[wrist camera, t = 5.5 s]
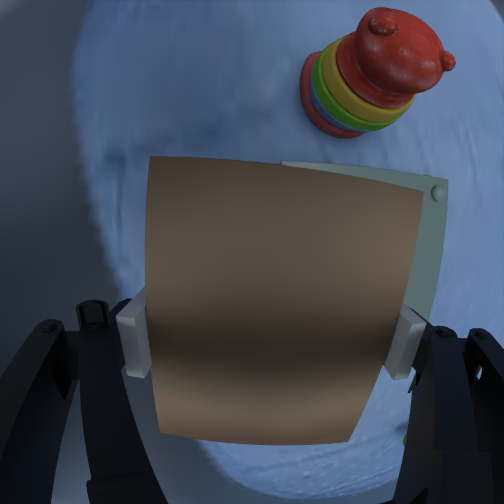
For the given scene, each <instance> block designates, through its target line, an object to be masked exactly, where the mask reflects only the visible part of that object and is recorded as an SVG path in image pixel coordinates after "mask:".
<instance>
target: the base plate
mask: <svg viewBox="0 0 504 504" xmlns="http://www.w3.org/2000/svg"><path fill="white" fill-rule="evenodd" d="M281 165H286V166H294V167H301V168H308V169H315V170H321V171H328V172H334V173H340V174H345V175H351V176H356V177H362V178H367V179H372V180H377V181H381V182H386V183H391V184H395V185H400V186H404V187H408V188H412V189H416V190H420V191H424V195H423V203H422V211H421V218H420V225H419V231H418V237H417V242H416V248H415V253H414V258H413V263H412V267H411V272H410V276H409V280H408V284H407V288H406V292H405V296H404V300H403V303H404V304H405V305H406V306H407V307H409V308H411V309H413V310H415V311H416V312H417V313H418V314H419V315H421V316H422V317H423V319H425V320H427V321H429V317H430V313H431V309H432V304H433V300H434V295H435V291H436V286H437V281H438V275H439V270H440V264H441V258H442V251H443V243H444V235H445V226H446V214H447V200H448V180H447V179H441V178H436V177H431V176H425V175H419V174H413V173H406V172H400V171H393V170H385V169H377V168H369V167H360V166H350V165H339V164H327V163H313V162H296V161H281Z"/></svg>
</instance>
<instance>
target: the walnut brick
mask: <svg viewBox="0 0 504 504" xmlns="http://www.w3.org/2000/svg"><path fill="white" fill-rule="evenodd" d="M423 195H424V191H420V190H416V189H412V188H408V187H404V186H400V185H395V184H391V183H386V182H381V181H377V180H372V179H367V178H362V177H356V176H351V175H345V174H340V173H334V172H328V171H321V170H315V169H308V168H301V167H294V166H286V165H278V164H269V163H260V162H249V161H238V160H226V159H211V158H193V157H164V156H150V162H149V173H148V186H147V201H146V222H145V297H146V318H147V333H148V341H149V348H150V354H151V361H152V365H151V375H152V383H153V391H154V398H155V405H156V411H157V417H158V423H159V429H160V432H161V433H166V434H170V435H176V436H181V437H187V438H193V439H200V440H208V441H216V442H226V443H237V444H253V445H314V444H330V443H341V442H348V440H349V439H350V437H351V435H352V433H353V431H354V429H355V427H356V425H357V423H358V421H359V419H360V417H361V414H362V412H363V410H364V408H365V406H366V404H367V401H368V399H369V397H370V395H371V392H372V390H373V388H374V385H375V383H376V380H377V378H378V375H379V373H380V370H381V368H382V365H383V362H384V360H385V357H386V354H387V351H388V348H389V346H390V343H391V340H392V337H393V334H394V330H395V327H396V324H397V321H398V318H399V314H400V311H401V307H402V304H403V300H404V296H405V292H406V288H407V284H408V280H409V276H410V272H411V267H412V263H413V258H414V253H415V248H416V242H417V237H418V231H419V225H420V218H421V211H422V203H423Z"/></svg>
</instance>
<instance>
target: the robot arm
mask: <svg viewBox="0 0 504 504" xmlns="http://www.w3.org/2000/svg"><path fill="white" fill-rule="evenodd" d="M76 312H77V317H78V322H79V326H80V331H65V329H64V325H63V323H62V322H61V321H59V320H55V319H52V320H51V319H47V320H44V321H43V322H41V323H39V324H38V325H36V327H35V328H34V329H33V331H32V332H31V333H30V335H29V336H28V337H27V339H26V340H25V342H24V343H23V345H22V346H21V347H20V349H19V350H18V352H17V353H16V355H15V356H14V358H13V359H12V361H11V362H10V364H9V365H8V367H7V369H6V370H5V371H4V373H3V375H2V376H1V378H0V504H51V498H52V490H53V484H54V477H55V471H56V465H57V460H58V455H59V450H60V446H61V441H62V437H63V433H64V429H65V425H66V421H67V417H68V413H69V410H70V406H71V402H72V399H73V396H74V393H75V389H76V386H77V383H78V379H79V380H80V399H81V412H82V421H83V431H84V438H85V445H86V451H87V457H88V463H89V468H90V473H91V480H89V481H87V484H86V486H87V493H88V497H89V502H90V504H168V502H167V500H166V498H165V496H164V493H163V491H162V489H161V487H160V485H159V482H158V480H157V478H156V476H155V473H154V471H153V469H152V466H151V464H150V461H149V459H148V456H147V454H146V451H145V448H144V445H143V443H142V440H141V437H140V434H139V431H138V429H137V425H136V422H135V419H134V416H133V413H132V409H131V406H130V403H129V400H128V396H127V392H126V389H125V384H124V381H123V377H122V373H121V370H122V368H123V366H124V365H125V366H126V371H127V375H129V376H134V377H140V378H145V376H146V374H147V373H148V371H149V369H150V367H151V365H152V361H151V354H150V348H149V341H148V333H147V318H146V297H145V287H144V288H143V289H142V290H141V291H140V292H139V293H138V294H137V295H136V296H135V297H134V298H133V299H129V298H127V299H125V300H123V301H121V302H119V303H118V304H117V305H116V306H115V308H113V309H112V310H111V311H110V312H109V306H108V304H107V302H105V301H102V300H88V301H84V302H82V303H80V304H78V305H77V307H76ZM383 365H384V367H385V368H386V370H387V371H388V373H389V374H390V376H391V377H392V379H393V380H398V379H404V378H408V376H409V373H410V371H411V368H412V367H413V368H414V369H415V370H416V374H415V376H414V379H413V381H412V384H411V386H410V388H409V391H408V393H410V392H411V390H412V399H411V408H410V417H409V424H408V431H407V437H406V443H405V449H404V454H403V459H402V464H401V469H400V473H399V477H398V481H397V485H396V489H395V493H394V497H393V499H392V500H391V501H387V502H384V503H380V504H504V349H503V348H502V347H501V345H500V344H499V343H498V342H497V341H496V339H495V338H494V337H493V336H492V335H491V334H490V333H489V332H487V331H486V330H485V329H482V328H472V329H471V330H470V331H469V334H468V337H467V338H458V337H457V334H456V332H455V331H454V330H452V329H450V328H448V327H445V326H432V325H431V324H430V323H429V322H428V321H427V320H425V319H423V317H422V316H421V315H419V314H418V313H417V312H416V311H415V310H413V309H411V308H409V307H407V306H406V305H405V304H404V303H403V304H402V307H401V311H400V314H399V318H398V321H397V324H396V327H395V330H394V334H393V337H392V340H391V343H390V346H389V348H388V351H387V354H386V357H385V360H384V362H383ZM481 367H482V374H481V377H480V379H478V378H477V375H478V373H479V371H480V369H481Z"/></svg>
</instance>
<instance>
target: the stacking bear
mask: <svg viewBox="0 0 504 504" xmlns="http://www.w3.org/2000/svg"><path fill="white" fill-rule="evenodd" d="M455 64H456V61H455V58H454V56H453V55H452V54H451V53H449V52H448V51H445V50H444V49H443V46H442V43H441V41H440V39H439V38H438V36H437V34H436V33H435V32H434V31H433V29H432V28H431V27H430V26H428V25H427V24H426V23H425V22H424V21H422V20H421V19H419V18H417V17H416V16H414V15H412V14H410V13H407V12H404V11H401V10H396V9H390V8H385V7H378V8H374V9H371V10H370V11H368V12H367V13H366V14H365V15H364V16H363V18H362V19H361V21H360V22H359V25H358V27H357V29H356V31H355V32H352V33H350V34H348V35H346V36H344V37H342V38H340V39H338V40H337V41H335V42H333V43H331V44H330V45H329V46H327V47H326V48H325V49H324V50H323V51H319V52H315V53H312V54H310V55H309V56H308V58H307V59H306V61H305V63H304V66H303V68H302V72H301V78H300V91H301V98H302V102H303V105H304V108H305V111H306V113H307V115H308V116H309V118H310V119H311V120H312V122H313V123H314V124H315V125H316V126H317V127H318V128H320V129H321V130H322V131H324V132H326V133H327V134H330V135H332V136H335V137H339V138H353V137H357V136H360V135H362V134H364V133H365V132H370V131H376V130H379V129H382V128H384V127H386V126H388V125H390V124H392V123H393V122H395V121H396V120H397V119H398V118H399V117H400V116H401V115H402V114H403V113H404V112H405V111H406V110H407V109H408V108H409V107H410V105H411V104H412V102H413V100H414V98H415V95H416V93H421V92H424V91H427V90H429V89H431V88H432V87H433V86H435V85H436V84H437V83H438V81H439V80H440V78H441V77H442V75H443V72H445V71H451V70H452V69H453V68H454V67H455Z"/></svg>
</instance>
